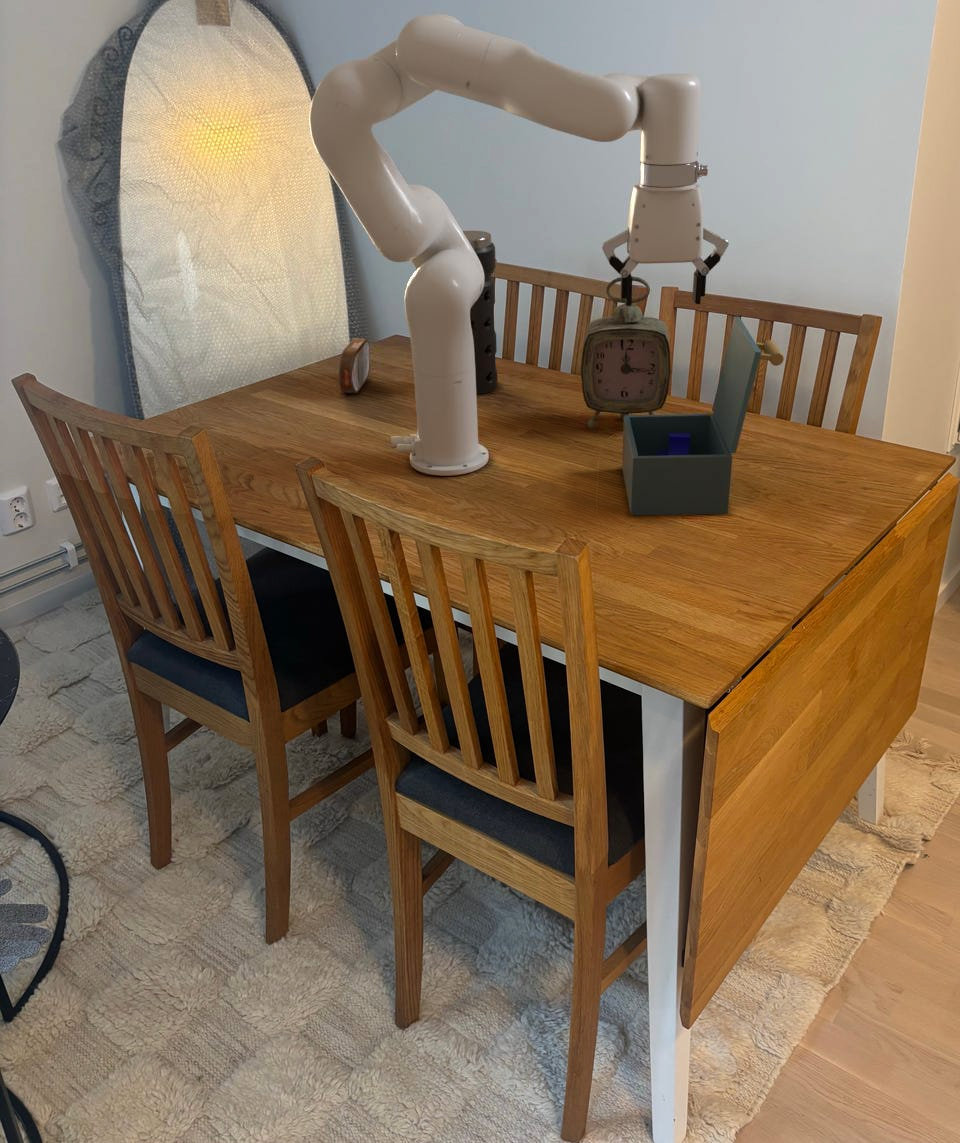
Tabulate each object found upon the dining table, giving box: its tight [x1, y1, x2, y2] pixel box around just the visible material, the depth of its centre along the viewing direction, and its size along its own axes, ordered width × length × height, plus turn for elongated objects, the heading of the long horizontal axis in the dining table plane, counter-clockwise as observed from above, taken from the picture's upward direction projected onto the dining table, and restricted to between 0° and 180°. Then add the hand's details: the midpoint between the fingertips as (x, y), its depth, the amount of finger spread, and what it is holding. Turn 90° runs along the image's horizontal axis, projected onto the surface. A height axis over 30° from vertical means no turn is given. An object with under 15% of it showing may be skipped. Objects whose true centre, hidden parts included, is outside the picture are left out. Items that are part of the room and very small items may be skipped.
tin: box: [338, 337, 371, 394], centre depth 203 cm, size 15×3×8 cm, turn 172°
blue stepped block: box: [658, 433, 690, 456], centre depth 157 cm, size 12×4×6 cm, turn 170°
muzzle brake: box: [462, 230, 499, 396], centre depth 196 cm, size 10×28×10 cm
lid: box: [711, 316, 785, 454], centre depth 151 cm, size 14×17×5 cm
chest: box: [621, 413, 733, 516], centre depth 157 cm, size 14×17×9 cm
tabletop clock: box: [580, 275, 672, 429], centre depth 178 cm, size 14×9×25 cm, turn 83°
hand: (662, 302), depth 152 cm, fingers open, 9 cm apart
